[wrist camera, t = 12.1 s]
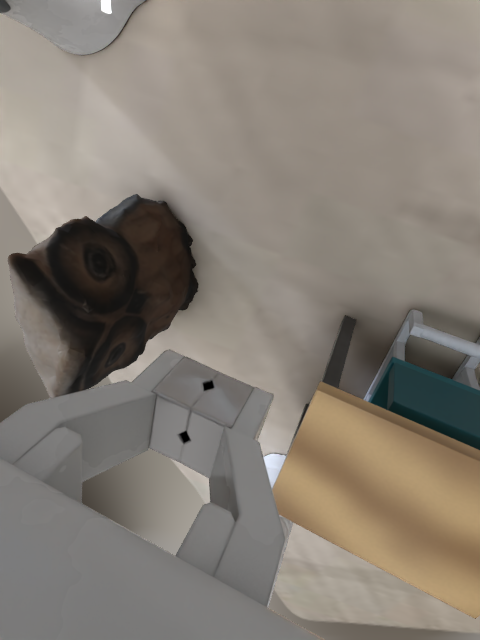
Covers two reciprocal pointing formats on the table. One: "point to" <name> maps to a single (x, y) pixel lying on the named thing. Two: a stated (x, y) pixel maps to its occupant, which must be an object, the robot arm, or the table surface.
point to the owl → (101, 291)
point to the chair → (431, 385)
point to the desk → (385, 489)
